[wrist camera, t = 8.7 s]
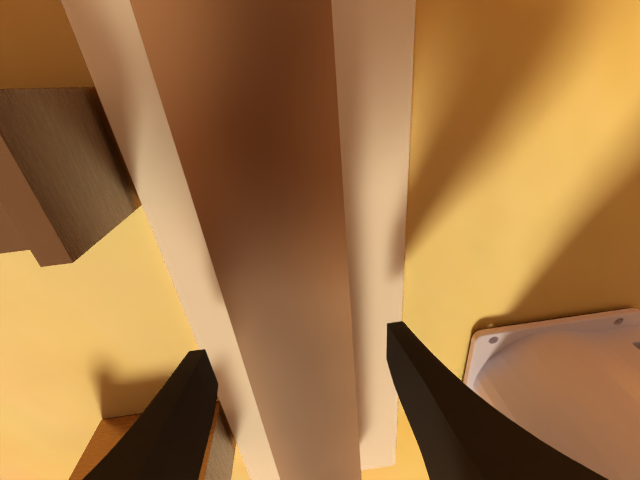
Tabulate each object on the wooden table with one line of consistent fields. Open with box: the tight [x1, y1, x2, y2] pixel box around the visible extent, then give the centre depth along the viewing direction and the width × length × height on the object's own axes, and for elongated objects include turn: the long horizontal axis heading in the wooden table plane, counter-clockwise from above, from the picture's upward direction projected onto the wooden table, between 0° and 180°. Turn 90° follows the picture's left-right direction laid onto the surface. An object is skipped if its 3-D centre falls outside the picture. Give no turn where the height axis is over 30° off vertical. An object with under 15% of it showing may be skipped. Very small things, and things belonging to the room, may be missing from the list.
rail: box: [130, 0, 362, 480], centre depth 13 cm, size 4×26×3 cm, turn 6°
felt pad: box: [61, 0, 416, 480], centre depth 14 cm, size 10×30×1 cm, turn 5°
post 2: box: [69, 402, 236, 480], centre depth 16 cm, size 7×4×4 cm, turn 95°
